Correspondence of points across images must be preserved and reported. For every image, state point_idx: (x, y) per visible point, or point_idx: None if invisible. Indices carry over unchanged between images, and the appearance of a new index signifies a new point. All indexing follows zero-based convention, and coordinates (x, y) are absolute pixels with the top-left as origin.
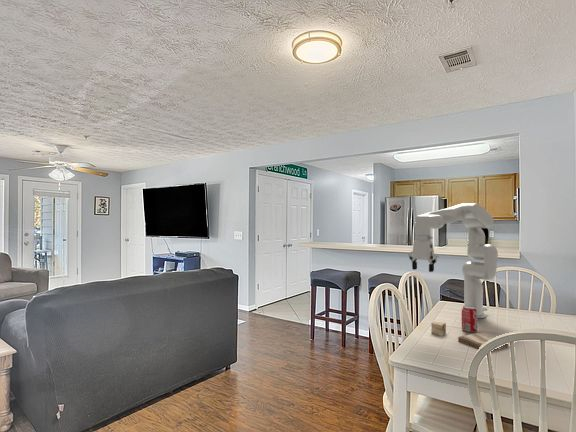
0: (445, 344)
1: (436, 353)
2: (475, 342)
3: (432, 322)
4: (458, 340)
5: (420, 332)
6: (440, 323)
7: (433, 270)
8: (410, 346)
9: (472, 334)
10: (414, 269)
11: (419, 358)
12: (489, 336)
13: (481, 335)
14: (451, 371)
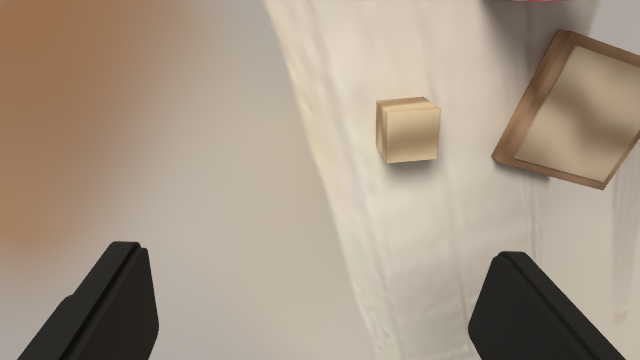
0: (461, 221)
1: (460, 298)
2: (565, 175)
3: (387, 153)
4: (493, 157)
5: (340, 177)
6: (422, 138)
7: (529, 257)
8: (382, 309)
9: (550, 95)
10: (149, 300)
11: (436, 349)
12: (619, 63)
13: (587, 78)
14: None
